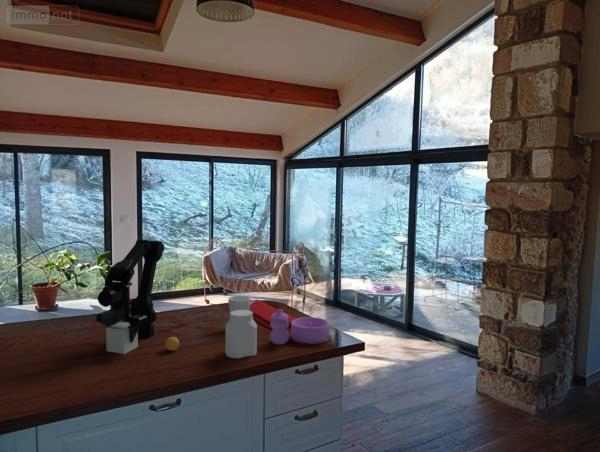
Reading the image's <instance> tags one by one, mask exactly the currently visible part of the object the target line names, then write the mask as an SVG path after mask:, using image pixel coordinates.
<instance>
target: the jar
mask: <svg viewBox="0 0 600 452" xmlns="http://www.w3.org/2000/svg"><path fill="white" fill-rule="evenodd" d="M224 328H225V329H224V330H225V350H224V352H225V355H226V356H227V357H228V358H231V359H242V358H245V357H246V358H247V357H252V356H256V355H257V353H258V348H257V344H258V341H257V340H258V339H257V337H258V324H257V322H256V321H254V320H253V312H252V311H249V310H235V311H232V312H230V311H229V320H228V321H227V323H226V324H225V326H224Z"/></svg>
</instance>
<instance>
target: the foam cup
mask: <svg viewBox="0 0 600 452" xmlns="http://www.w3.org/2000/svg"><path fill="white" fill-rule="evenodd" d="M227 299H228V306H229V313H230V312H232V311H235V310H249V308H250V304H251V300H252V299H251V297H250V296H248V295H233V296H229V297H228V298H227Z"/></svg>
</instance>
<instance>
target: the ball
mask: <svg viewBox="0 0 600 452" xmlns="http://www.w3.org/2000/svg"><path fill="white" fill-rule="evenodd" d="M179 340H180V339H179V338H178V337H176V336H170V337H168V338H167V339H166V340H165V343H164V345H165V348H166V349H167V350H168V351H173V352H174V351H176V350H177V349H179V347H180V341H179Z"/></svg>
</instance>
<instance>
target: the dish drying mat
mask: <svg viewBox="0 0 600 452" xmlns="http://www.w3.org/2000/svg"><path fill="white" fill-rule="evenodd" d="M277 309H278V308H275V307H273V306H271V305H269V304H268V303H267V304H266V303H265V302H263V301H261V300H259V299H251V304H250V308H249V311H252V312H253V320H254V321H255V323H258V324H260V325H262V326H264V327H266V328H267V329H269V330H271V331H272V330H273V329H272V327H271V325H270V323H271V321H272V319H271V316H272V315H273V314H274V313H277ZM286 314H287V313H286ZM287 315H288V319H287V320H288V322H289V326H288V327H290V328H291V322H292V321H293V320H294V319H297V318H296V317H295V316H292V315H290V314H287Z"/></svg>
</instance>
